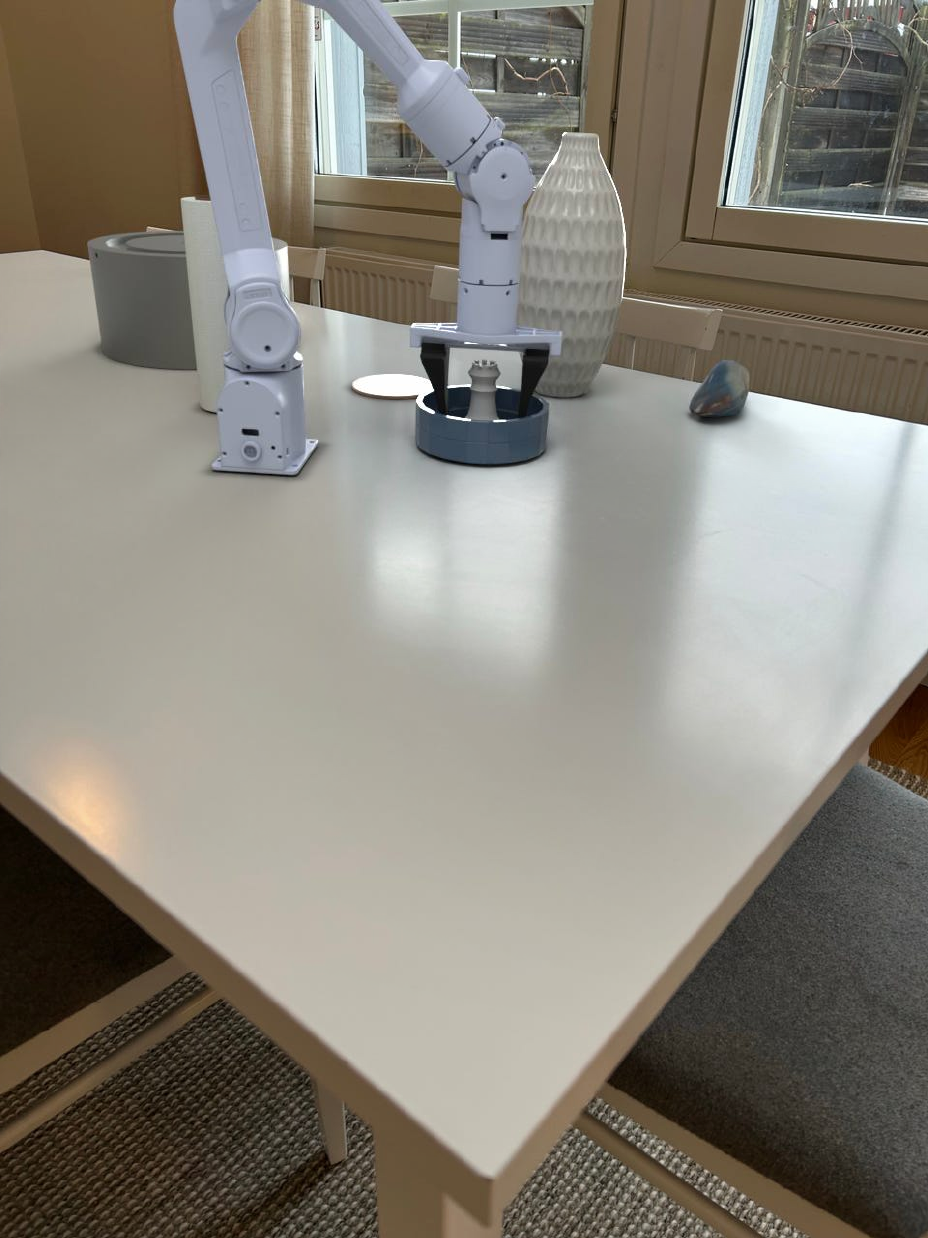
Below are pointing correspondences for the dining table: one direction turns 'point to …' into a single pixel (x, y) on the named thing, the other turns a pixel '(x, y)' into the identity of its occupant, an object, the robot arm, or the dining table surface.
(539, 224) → the vase
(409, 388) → the coaster
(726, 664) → the dining table surface
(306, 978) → the dining table surface
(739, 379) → the seashell
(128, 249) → the container
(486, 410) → the rook chess piece
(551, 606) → the dining table surface
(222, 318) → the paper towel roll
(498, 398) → the bowl
